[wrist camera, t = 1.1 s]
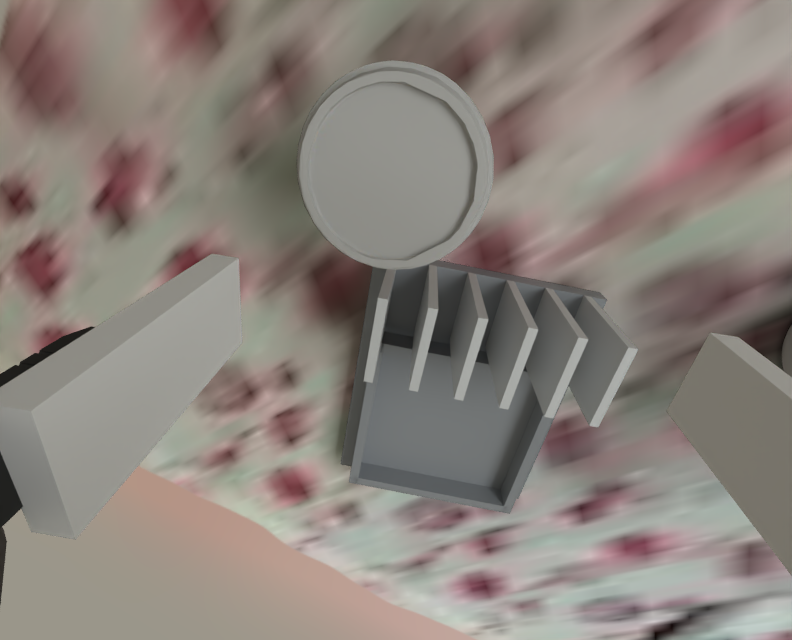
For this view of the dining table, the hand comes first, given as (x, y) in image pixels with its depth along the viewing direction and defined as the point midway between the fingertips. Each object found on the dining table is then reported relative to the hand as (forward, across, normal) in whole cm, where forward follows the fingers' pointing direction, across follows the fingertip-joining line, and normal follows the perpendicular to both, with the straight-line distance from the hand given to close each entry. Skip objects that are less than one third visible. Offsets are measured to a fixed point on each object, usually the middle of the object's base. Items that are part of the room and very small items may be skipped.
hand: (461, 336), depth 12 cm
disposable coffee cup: (+21, -3, +2) cm, 22 cm away
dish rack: (+21, +4, -16) cm, 27 cm away
